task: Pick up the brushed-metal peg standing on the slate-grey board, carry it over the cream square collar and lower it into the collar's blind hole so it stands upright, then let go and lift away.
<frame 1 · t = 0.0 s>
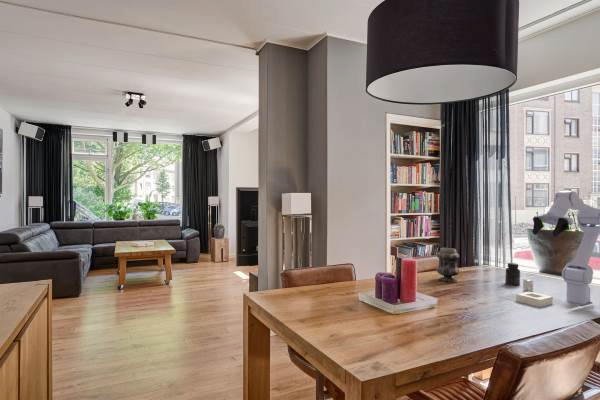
hand: (544, 233, 148), 32 cm above the table, tool tilted 50°, fingers open, 7 cm apart
apothecary jar: (447, 280, 204), on the table
supplement bottle: (512, 286, 192), on the table
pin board: (532, 301, 164), on the table
metal peg: (528, 295, 171), point 1 cm above the table, touching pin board
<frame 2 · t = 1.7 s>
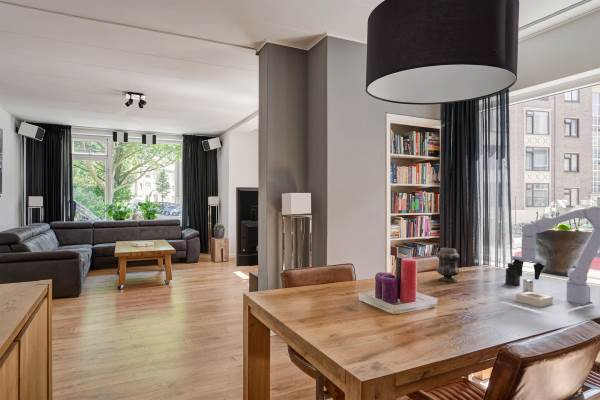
hand: (528, 277, 171), 9 cm above the table, tool pointing down, fingers open, 7 cm apart
nothing on the table moved.
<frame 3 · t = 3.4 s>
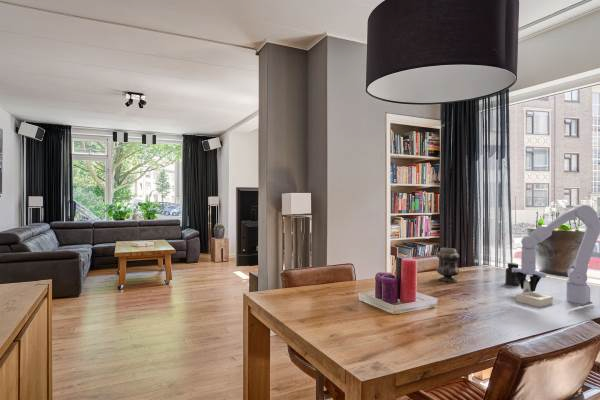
hand: (528, 289, 171), 3 cm above the table, tool pointing down, fingers closed on metal peg, 4 cm apart
metal peg: (528, 295, 171), point 1 cm above the table, touching gripper, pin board
everything else where it was.
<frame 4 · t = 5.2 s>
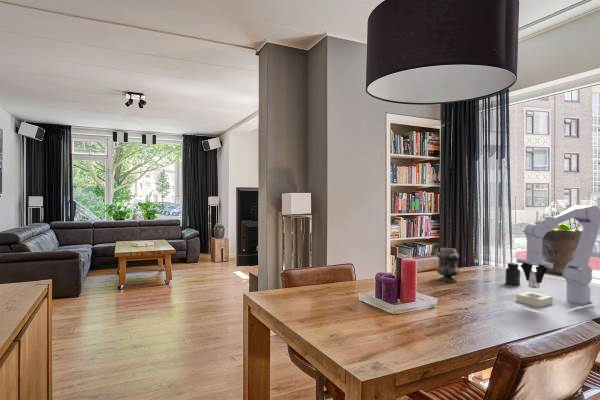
hand: (533, 281, 160), 10 cm above the table, tool pointing down, fingers closed on metal peg, 4 cm apart
metal peg: (534, 287, 160), point 8 cm above the table, touching gripper
everything else where it was.
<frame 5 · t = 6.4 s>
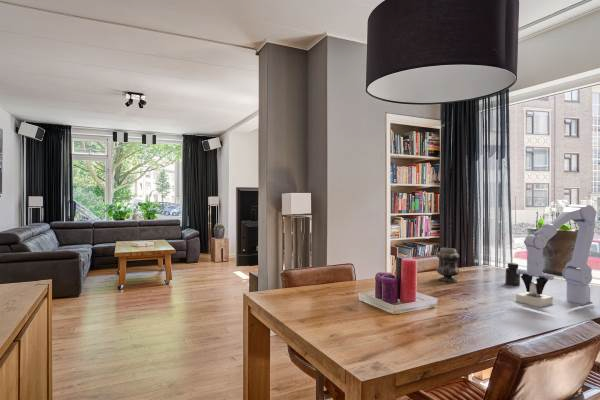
hand: (534, 293, 159), 5 cm above the table, tool pointing down, fingers closed on metal peg, 4 cm apart
metal peg: (534, 298, 159), point 3 cm above the table, touching gripper
everything else where it was.
when the fingers open (5 cm above the table, at t = 7.3 s): metal peg drops 1 cm, resting on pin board.
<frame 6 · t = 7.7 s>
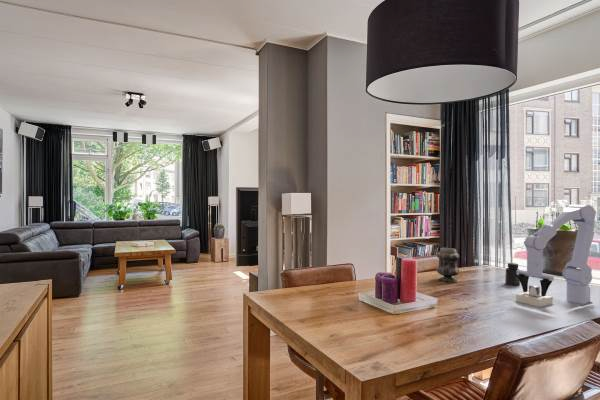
hand: (534, 293, 159), 5 cm above the table, tool pointing down, fingers open, 7 cm apart
metal peg: (534, 302, 159), point 1 cm above the table, touching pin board
everything else where it was.
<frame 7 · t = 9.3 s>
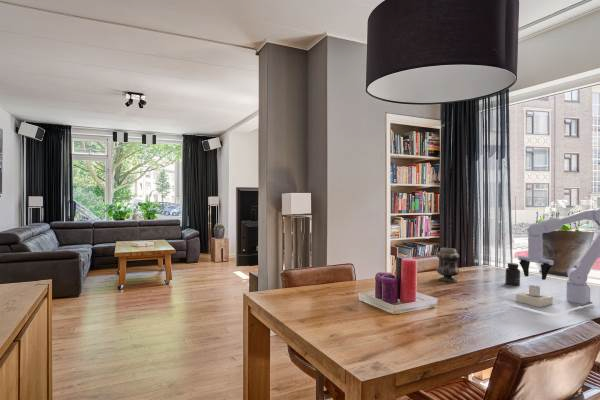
hand: (535, 277, 169), 9 cm above the table, tool pointing down, fingers open, 7 cm apart
nothing on the table moved.
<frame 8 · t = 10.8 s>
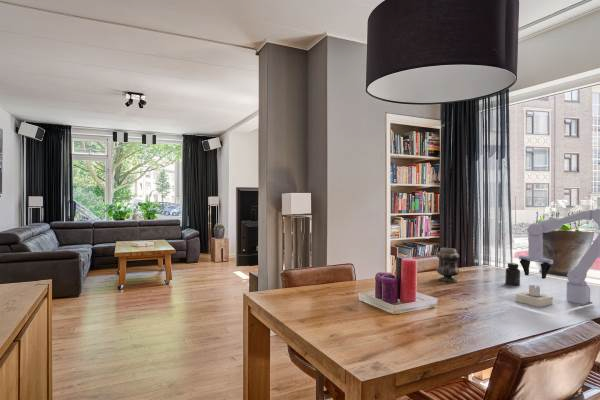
hand: (535, 276, 172), 9 cm above the table, tool pointing down, fingers open, 7 cm apart
nothing on the table moved.
at the end: metal peg 0.1 cm from the target spot on the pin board, point 1.0 cm above the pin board's base; metal peg tilted 0°; the gripper is holding nothing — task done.
